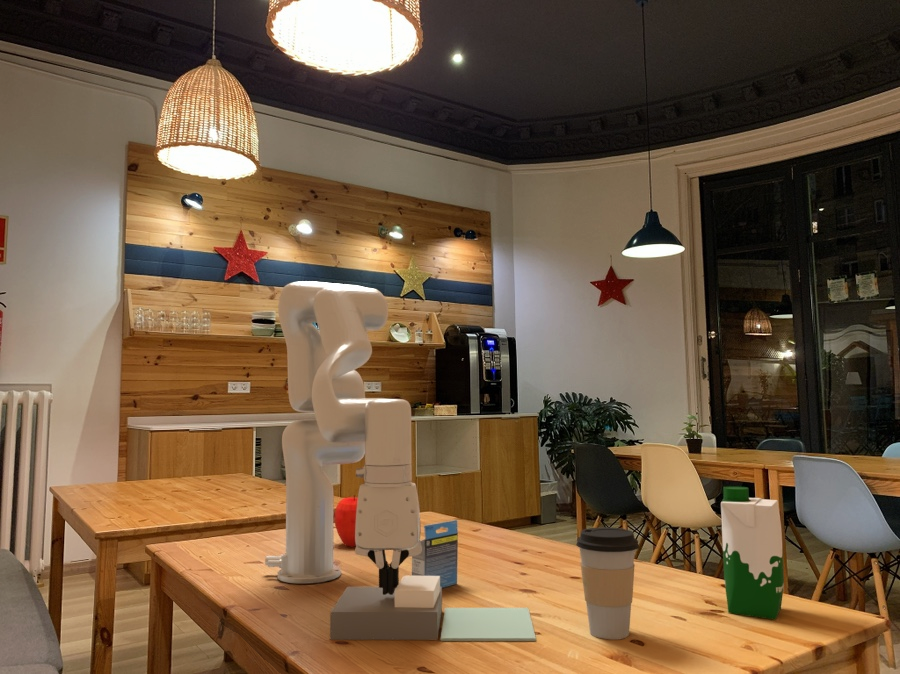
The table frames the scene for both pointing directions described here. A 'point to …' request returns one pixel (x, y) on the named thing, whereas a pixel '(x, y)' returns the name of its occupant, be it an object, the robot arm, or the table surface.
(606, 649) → the table surface
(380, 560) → the robot arm
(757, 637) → the table surface
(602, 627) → the coffee cup
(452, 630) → the mat
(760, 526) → the milk carton
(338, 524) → the apple
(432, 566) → the label tape box
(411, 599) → the tile
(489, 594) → the table surface
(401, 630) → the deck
